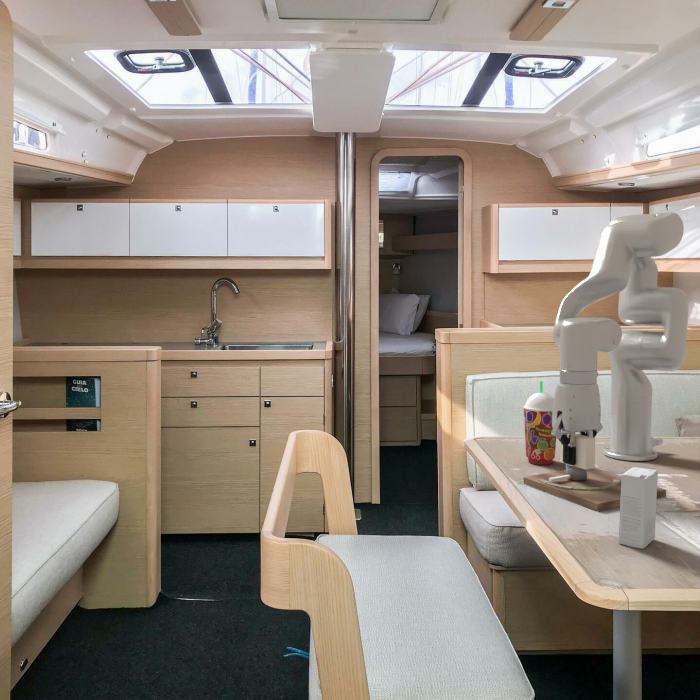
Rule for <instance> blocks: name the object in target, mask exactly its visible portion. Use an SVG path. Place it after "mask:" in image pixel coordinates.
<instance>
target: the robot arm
mask: <svg viewBox="0 0 700 700" xmlns="http://www.w3.org/2000/svg"><path fill="white" fill-rule="evenodd" d="M684 232H685V231H684V222H683V220H682V217H681V216H680V215H679V214H678V213H676V212H673V211H672V212H671V211H670V212H657V213H642V214H641V213H640V214H631V215H624V216H623V215H622V216H619V217H616V218H614V219H612V220H611V221H610V222H609V223H608V225H607V226H605V227H604V228H603V230H602V231H601V234H600V237H599V240H598V244H597V247H596V249H595V250H596V251H595V253H594V257H593V260H592V265H591V267H590V272H589V274H588V276H587V277H585V278H584V279H582V281H580V282H579V283H578V284H576V285H575V286H574V287H573V288H572V289H571V291H569V292H568V293H567V294H566V296H565V297H564V298H563V299H562V301H561V303H560V305H559V307H558V310H557V311H558V312H557V314H556V318H555V319H554V320H555V321H554V324H553V330H552V339H553V342H554V344H555V345H556V347H558V348H559V383H558V384H556V387H555V390H554V391H555V392H554V397H553V398H554V401H553V411H552V427H553V429H552V431H551V434H552V435H553V436H555V437H556V439H557V440H558V441H559V444H560V443H561V444H562V445H563V462H564V463H563V464H565V463H566V464H569V465H575V464H576V447H574V440H575V433H578V434H580V435H584V436H588V437H592V438H595V439H596V436H597V435H598V433H600V432H601V430H602V429H603V425H602V423H601V420H602V419H601V416H602V413H601V411H602V408H601V407H602V406H601V396H600V389H599V384H598V377H599V372H598V353H608V359H609V365H610V372H611V373H610V375H611V377H610V379H611V385H610V387H611V388H610V389H611V393H610V395H611V397H610V432H609V433H610V438H609V439H610V441H609V443H610V444H609V445H608V446H606V447H603V454H604V455H605V456H607V457H609V458H612V459H616V460H621V461H622V460H623V461H628V462H629V461H633V462H644V461H645V462H646V461H652V460H655V459H657V458H658V452H657V451H656V450H654V447H655V446H656V447H657V446H661V445H663V444H664V441H663V438H662V437H660V436H659V437H653V436H652V417H653V415H652V413H653V386H652V383H651V381H650V380H649V378H648V376H647V375H646V374H645V372H644V371H661V372H675V371H677V370H679V369H680V368H682V366H683V364H684V362H685V358H686V349H687V335H688V323H689V322H688V321H689V299H688V296H687V294H686V291H684V290H683V289H681V288H678V287H671V286H670V287H669V286H667V287H666V286H665V287H664V286H663V287H662V286H661V287H659V286H658V276H659V275H658V272H659V269H658V266H657V263H656V262H655V260H654V259H653V258H654V257H655V258H656V257H660V256H665V255H666V254H667V253H669V252H671V251H673V250H674V249H675V248H677V247H678V246H679V244H680V243H681V241H682V240H683V237H684ZM616 294H618V306H617V308H618V309H617V311H618V318H619V320H620V321H621V323H623V324H624V325H627V326H628V325H629V326H644V327H663V330H664V331H654V330H653V331H650V330H649V331H648V330H622V328H621V326H620V324H619V323H618V322H617V321H616V320H614V319H612V318H608V317H589V316H588V317H586V316H584V317H583V316H582V317H580V316H579V314H580V313H581V312H582V311H583V310H585V309H586V308H587V307H589V306H590V305H593V304H595V303H596V302H599V301H602V300H605V299H607V298H609V297H612V296H614V295H616ZM578 316H579V317H578ZM567 434H569V438H568V437H567ZM566 464H565V465H566Z"/></svg>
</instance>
